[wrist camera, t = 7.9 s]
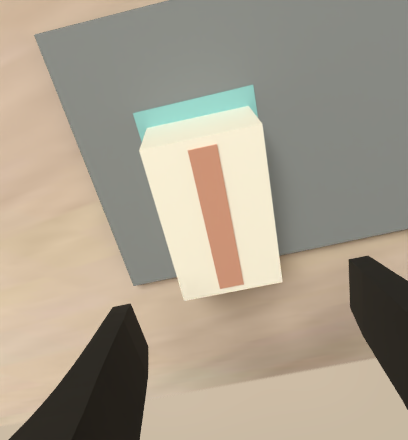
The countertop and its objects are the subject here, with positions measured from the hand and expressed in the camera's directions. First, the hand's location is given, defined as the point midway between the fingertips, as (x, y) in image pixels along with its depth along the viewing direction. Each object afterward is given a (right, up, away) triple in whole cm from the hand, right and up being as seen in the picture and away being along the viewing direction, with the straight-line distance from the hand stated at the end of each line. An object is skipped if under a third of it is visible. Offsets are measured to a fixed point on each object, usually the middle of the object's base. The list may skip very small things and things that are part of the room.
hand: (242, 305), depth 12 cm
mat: (+3, +7, +7) cm, 10 cm away
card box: (-1, +4, +7) cm, 9 cm away
